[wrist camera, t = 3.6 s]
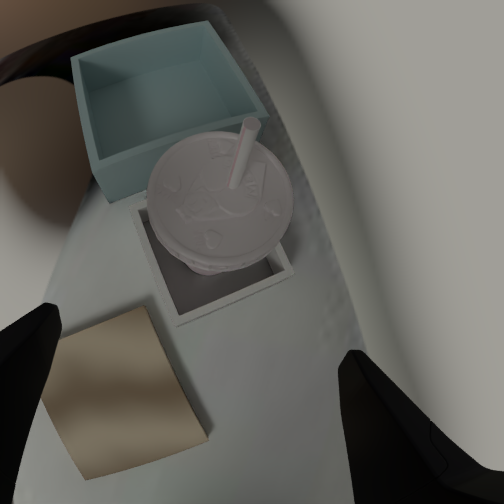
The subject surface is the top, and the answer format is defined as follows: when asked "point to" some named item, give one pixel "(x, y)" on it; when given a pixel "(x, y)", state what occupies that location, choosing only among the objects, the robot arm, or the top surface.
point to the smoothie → (220, 200)
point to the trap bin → (157, 100)
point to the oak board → (118, 397)
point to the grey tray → (281, 273)
